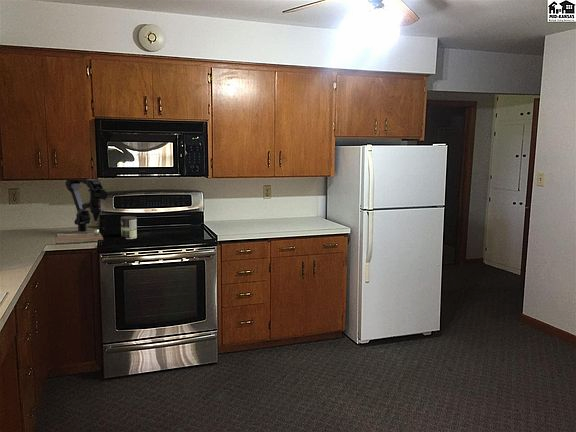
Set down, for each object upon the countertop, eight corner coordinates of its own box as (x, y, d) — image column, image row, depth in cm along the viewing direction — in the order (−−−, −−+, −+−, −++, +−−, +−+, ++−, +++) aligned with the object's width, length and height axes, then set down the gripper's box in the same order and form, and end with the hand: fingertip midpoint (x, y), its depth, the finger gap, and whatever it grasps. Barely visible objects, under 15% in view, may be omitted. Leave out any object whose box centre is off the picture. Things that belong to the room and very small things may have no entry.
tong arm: (65, 237, 325) (64, 231, 325) (65, 236, 328) (64, 230, 328) (100, 235, 334) (99, 230, 334) (99, 234, 337) (99, 229, 337)
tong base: (57, 236, 328) (57, 233, 328) (89, 234, 336) (89, 231, 336) (57, 237, 324) (57, 234, 323) (90, 235, 332) (90, 233, 332)
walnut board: (55, 238, 328) (55, 236, 328) (100, 235, 340) (100, 233, 340) (55, 244, 310) (55, 241, 310) (103, 241, 322) (103, 239, 322)
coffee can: (121, 239, 330) (120, 218, 328) (120, 236, 339) (120, 216, 337) (137, 238, 334) (137, 218, 331) (136, 235, 343) (136, 215, 341)
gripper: (81, 197, 343) (82, 219, 345) (82, 200, 326) (83, 223, 328) (98, 196, 347) (99, 218, 350) (100, 199, 331) (101, 222, 333)
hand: (95, 220), depth 340 cm, fingers closed
